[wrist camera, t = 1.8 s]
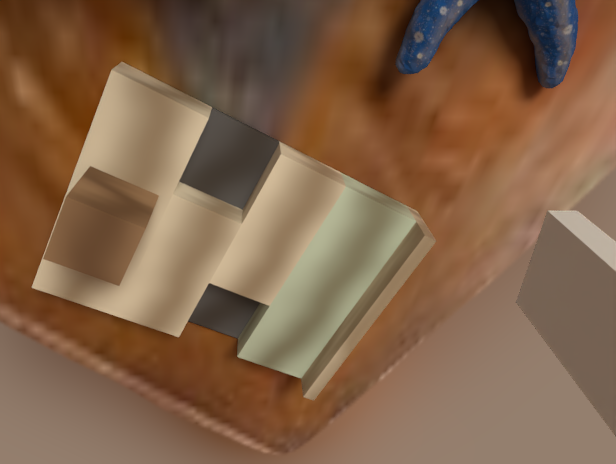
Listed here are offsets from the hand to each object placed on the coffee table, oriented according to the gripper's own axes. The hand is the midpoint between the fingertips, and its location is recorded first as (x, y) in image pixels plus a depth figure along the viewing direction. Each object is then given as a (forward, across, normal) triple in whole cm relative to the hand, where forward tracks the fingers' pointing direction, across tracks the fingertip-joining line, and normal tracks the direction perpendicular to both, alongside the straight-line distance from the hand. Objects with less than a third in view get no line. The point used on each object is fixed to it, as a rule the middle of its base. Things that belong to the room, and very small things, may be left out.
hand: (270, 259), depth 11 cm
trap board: (+22, -2, -13) cm, 26 cm away
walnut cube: (+20, -10, -9) cm, 24 cm away
